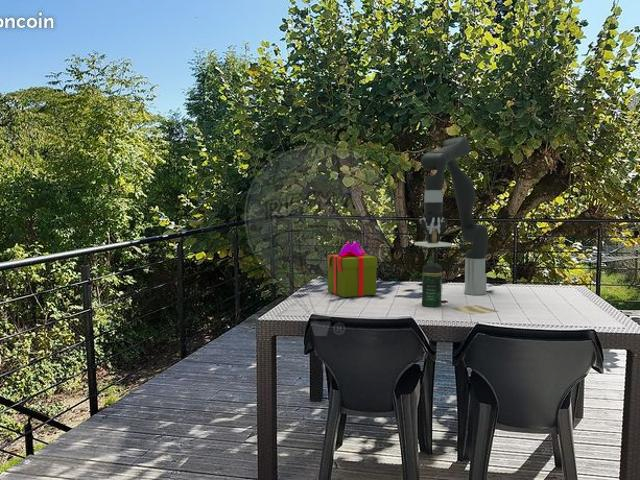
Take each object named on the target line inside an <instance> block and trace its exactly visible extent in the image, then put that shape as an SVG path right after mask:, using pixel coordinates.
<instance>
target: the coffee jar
mask: <svg viewBox="0 0 640 480" xmlns="http://www.w3.org/2000/svg"><path fill="white" fill-rule="evenodd" d="M442 278H443V266H442V265H440V264H439V263H437V262H436V263H435V262H430V263H428V264H425V265H423V266H422V279H421V280H422V281H421V282H422V283H421V284H422V292H421V306H422V307H424V308H435V309H437V308H439V307H441V306H442V290H443V289H442V284H443V281H442V280H443V279H442Z"/></svg>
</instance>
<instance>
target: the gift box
mask: <svg viewBox="0 0 640 480" xmlns="http://www.w3.org/2000/svg"><path fill="white" fill-rule="evenodd" d="M326 256H327V257H326V264H327V292H329V293H332V294H333V295H335V296H341V297H344V298H348V297H363V296H371V295H377V267H378V256H373V255H371V254H368V253H366V251H365V250H364V249H363V247H362V245H360V242H357V243H356V241H353V243H350V242H349V241H347V242H346V244H344V245H343V246H342V248H341V249H340V251H339V253H338V254H327V255H326Z"/></svg>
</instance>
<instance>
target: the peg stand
mask: <svg viewBox="0 0 640 480" xmlns="http://www.w3.org/2000/svg"><path fill="white" fill-rule="evenodd" d="M431 234H432V242H431V243H428V242H427V241H415V242H414V246H418V247H425V248H426V247H427V248H441V247H443V248H444V247H452V246H453V243H451V242H445V241H439V242H438V243H437V231H434V230H432V233H431Z"/></svg>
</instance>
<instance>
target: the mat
mask: <svg viewBox="0 0 640 480" xmlns="http://www.w3.org/2000/svg"><path fill="white" fill-rule="evenodd" d="M450 309H451V310H454V311H455V310H456V311H459V312H463V313H465V314H468V315H478V314H479V315H480V314H487V313H489V314H490V313H497V312H500V310H495V309H492V308H488V307H484V306H480V305H476V304H475V305H473V304H472V305H465V306H455V307H450Z"/></svg>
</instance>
